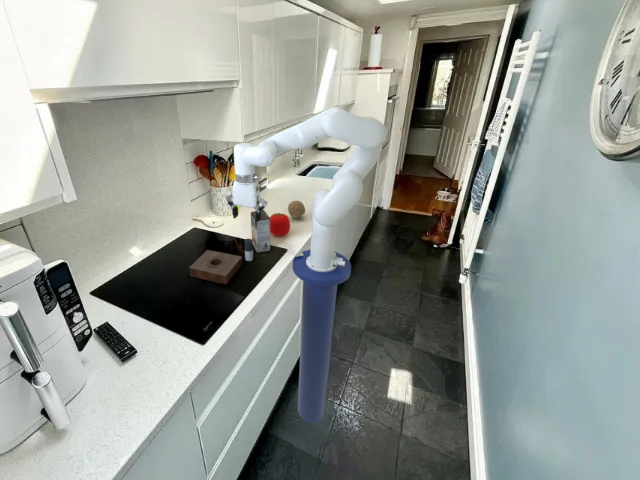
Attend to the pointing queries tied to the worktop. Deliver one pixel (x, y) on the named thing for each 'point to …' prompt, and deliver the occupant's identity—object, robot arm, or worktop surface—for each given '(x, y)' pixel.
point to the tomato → (279, 224)
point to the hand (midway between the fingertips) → (246, 218)
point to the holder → (216, 267)
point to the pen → (248, 249)
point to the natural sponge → (296, 209)
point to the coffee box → (260, 232)
